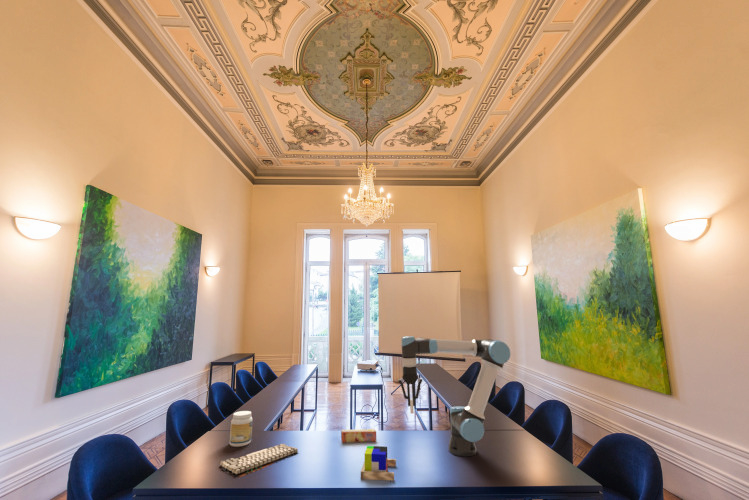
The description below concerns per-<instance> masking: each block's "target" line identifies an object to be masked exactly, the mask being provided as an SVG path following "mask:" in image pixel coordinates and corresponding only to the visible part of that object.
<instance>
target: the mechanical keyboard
mask: <svg viewBox="0 0 749 500" xmlns="http://www.w3.org/2000/svg"><path fill="white" fill-rule="evenodd" d="M297 454H299V451H298V447H297V448H296V447H294V446H289V445H287V444H285V443H280V444H277V445H274V446H271V447H268V448H263V449H261V450H258V451H253V452H251V453H248V454H246V455H243V456H242V455H241V456H240V457H238V458H234V457H231V458H227V459H226V460H221V461H220V464H219V465H220V466H218V468H220V469H221V470H222V472H224V473H227V474H229V475H231V476H233V477H235V478H236V477H240V478H241V477H244V476H247V475H248V474H251V473H254V472H257V471H260V470H262V469H265V468H267V467H269V466H271V465H272V464H275V463H277V462H280V461H282V460H284V459H288V458H290V457H292V456H295V455H297Z"/></svg>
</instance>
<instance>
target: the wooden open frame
mask: <svg viewBox="0 0 749 500" xmlns="http://www.w3.org/2000/svg"><path fill="white" fill-rule="evenodd" d="M387 467H397V459H396V458H387ZM360 480H373V481H374V480H376V481H390V480H391V481H392V482H393V481H395V472H390V471H387V472H375V471H365V460H364V461H363V464H362V467H361V469H360Z"/></svg>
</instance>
